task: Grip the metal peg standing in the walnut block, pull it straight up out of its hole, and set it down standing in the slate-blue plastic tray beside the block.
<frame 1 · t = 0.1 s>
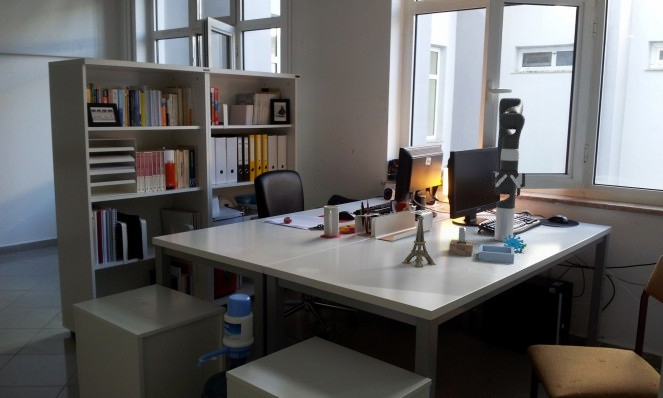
hand: (507, 195, 253), 29 cm above the table, tool pointing down, fingers open, 8 cm apart
gear: (514, 251, 275), on the table
eiffel tower: (418, 264, 248), on the table
peg: (461, 240, 268), in the pin block
tray: (496, 257, 261), on the table
pin block: (461, 252, 269), on the table
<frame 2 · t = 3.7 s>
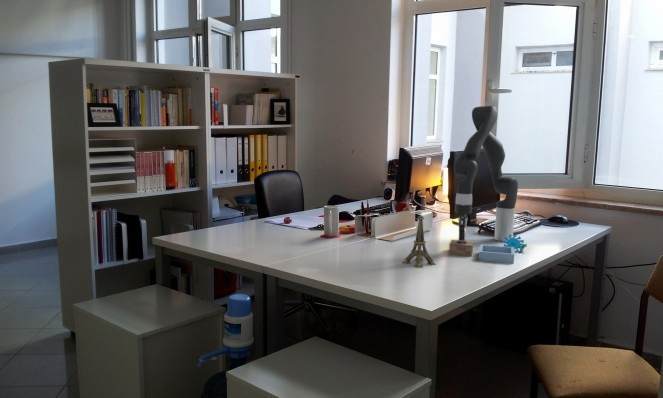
hand: (461, 239, 268), 7 cm above the table, tool pointing down, fingers closed on peg, 3 cm apart
peg: (461, 240, 268), in the pin block, touching gripper
everything else where it was.
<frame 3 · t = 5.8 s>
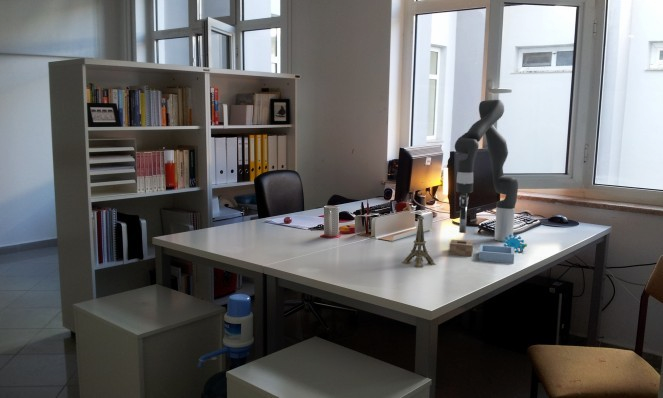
hand: (463, 218, 267), 17 cm above the table, tool pointing down, fingers closed on peg, 3 cm apart
peg: (463, 219, 267), point 16 cm above the table, touching gripper
everything else where it was.
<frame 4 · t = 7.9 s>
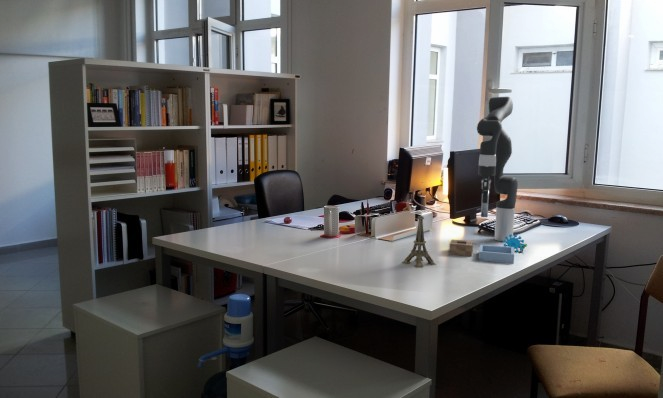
hand: (485, 202, 260), 25 cm above the table, tool pointing down, fingers closed on peg, 3 cm apart
peg: (484, 203, 260), point 24 cm above the table, touching gripper
everything else where it was.
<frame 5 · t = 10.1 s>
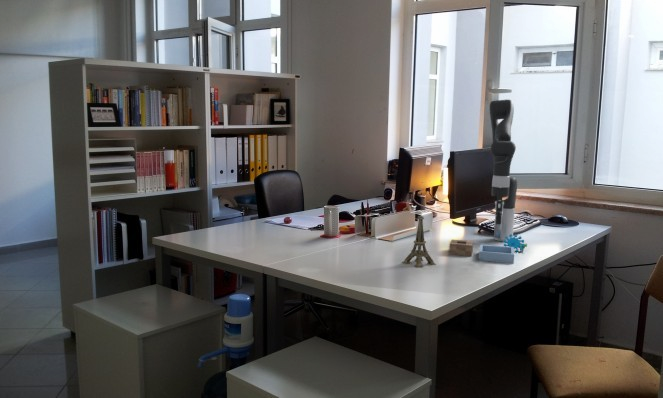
hand: (498, 223, 258), 16 cm above the table, tool pointing down, fingers closed on peg, 3 cm apart
peg: (498, 224, 258), point 15 cm above the table, touching gripper
when the fingers open (9 cm above the table, at t = 12.1 s): peg drops 1 cm, resting on tray.
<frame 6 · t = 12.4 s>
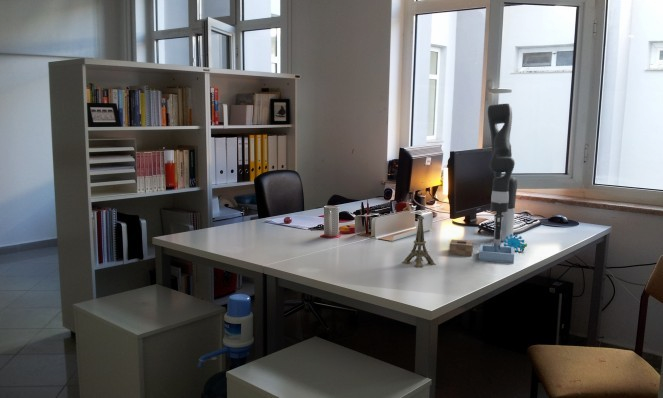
hand: (497, 237, 259), 10 cm above the table, tool pointing down, fingers open, 5 cm apart
peg: (497, 242, 260), in the tray, point 7 cm above the table
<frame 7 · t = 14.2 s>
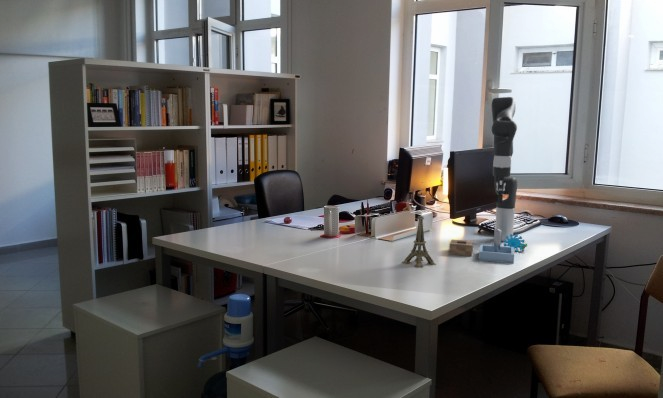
hand: (499, 201, 257), 26 cm above the table, tool pointing down, fingers open, 8 cm apart
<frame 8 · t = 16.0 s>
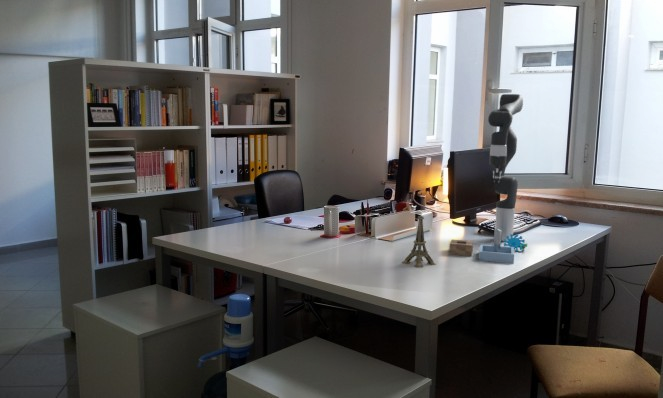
hand: (496, 189, 268), 30 cm above the table, tool pointing down, fingers open, 8 cm apart
at the end: peg inside the target area on the tray (0.2 cm from its centre), point 7.0 cm above the tray's base; the gripper is holding nothing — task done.
